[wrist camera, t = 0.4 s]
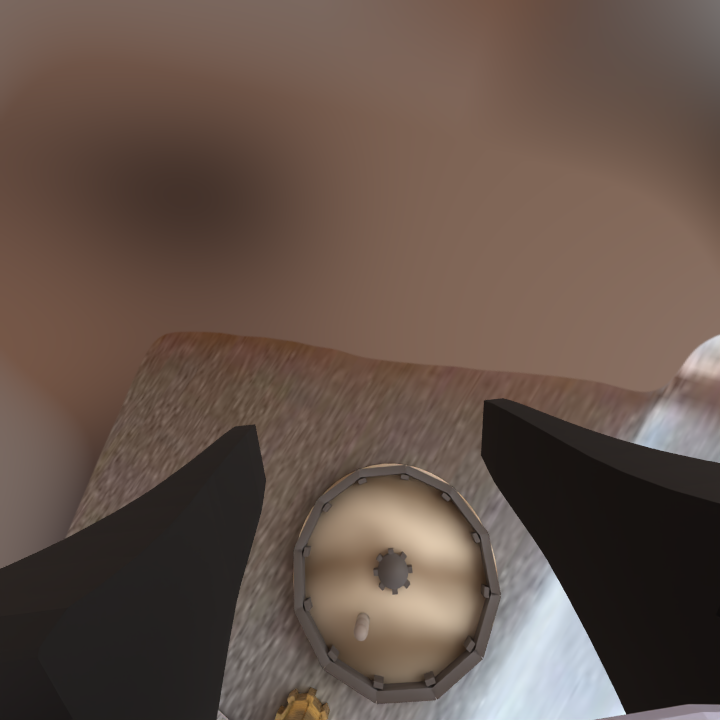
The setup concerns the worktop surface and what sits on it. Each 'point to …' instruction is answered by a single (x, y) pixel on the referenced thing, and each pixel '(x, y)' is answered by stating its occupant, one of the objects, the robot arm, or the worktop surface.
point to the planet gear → (303, 707)
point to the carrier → (395, 583)
